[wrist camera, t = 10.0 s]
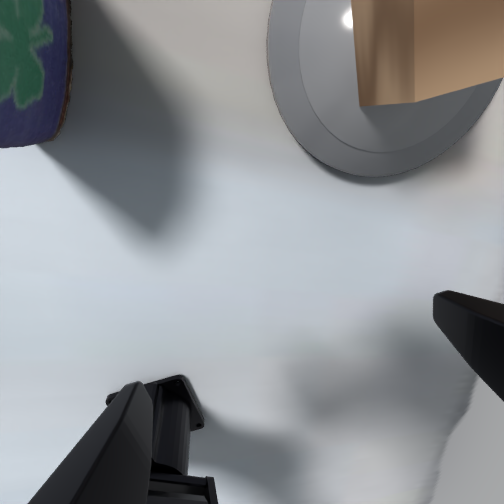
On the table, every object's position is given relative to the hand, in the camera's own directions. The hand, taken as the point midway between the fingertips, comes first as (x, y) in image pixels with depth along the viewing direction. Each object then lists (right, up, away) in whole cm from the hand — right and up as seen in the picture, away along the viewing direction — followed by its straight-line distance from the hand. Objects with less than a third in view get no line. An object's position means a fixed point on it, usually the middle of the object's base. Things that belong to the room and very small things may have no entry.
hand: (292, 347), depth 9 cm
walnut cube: (+7, +14, +7) cm, 17 cm away
